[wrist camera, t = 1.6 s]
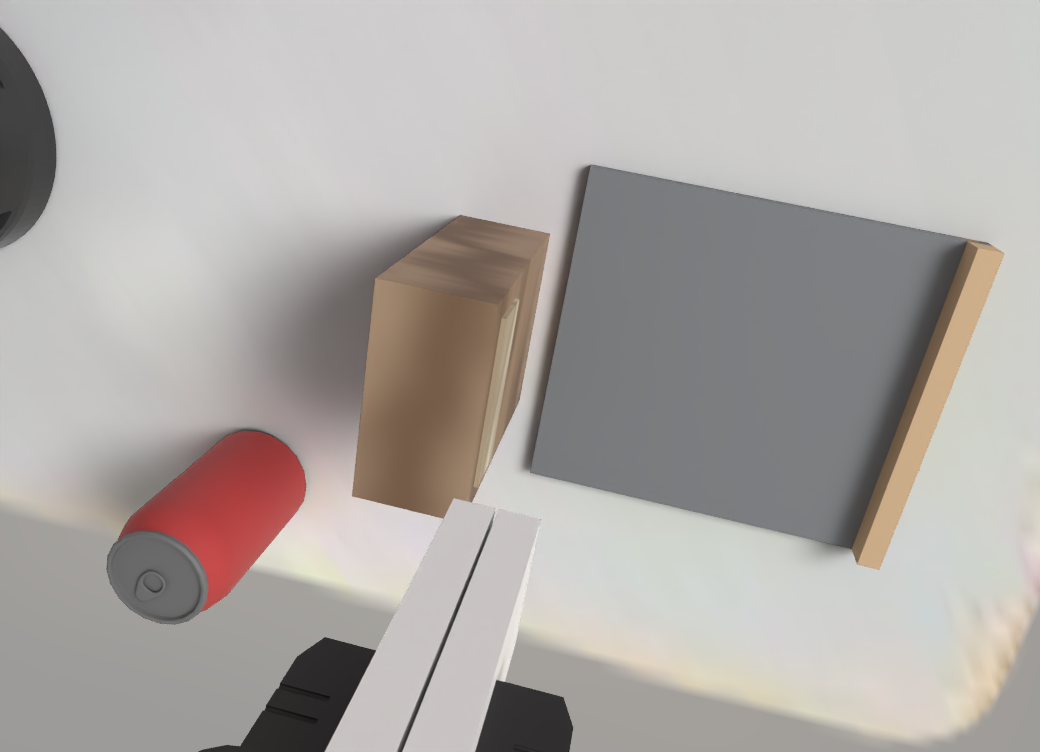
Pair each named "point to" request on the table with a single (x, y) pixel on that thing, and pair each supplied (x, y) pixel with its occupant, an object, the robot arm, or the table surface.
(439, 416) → the walnut block
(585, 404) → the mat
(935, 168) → the table surface
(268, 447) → the beer can
